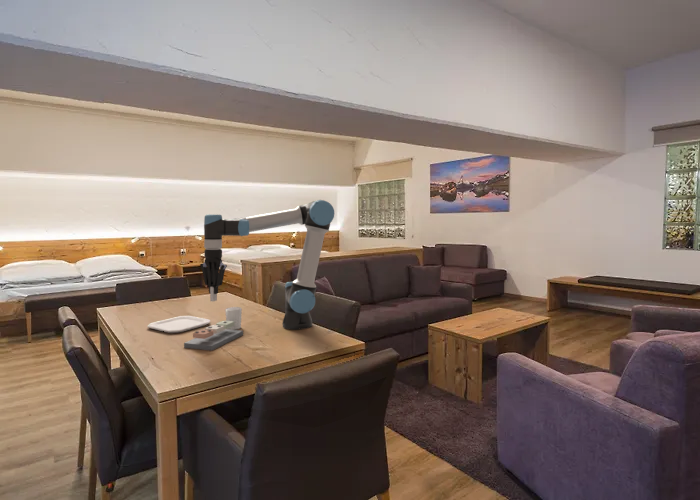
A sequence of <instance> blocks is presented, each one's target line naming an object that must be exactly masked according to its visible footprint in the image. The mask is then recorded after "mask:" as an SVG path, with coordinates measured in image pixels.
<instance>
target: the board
mask: <svg viewBox="0 0 700 500" xmlns="http://www.w3.org/2000/svg"><path fill="white" fill-rule="evenodd" d="M242 336H244V330H241V329H236V330H230V329H224V331H221V332H219V333H217V334H214V335H212V336H210V337H208V338H206V339H201V338H192V339H189V340H188V341H185V342H184V343H183V348H185V349H187V348H188V349H194V350H195V349H196V350H203V351H204V350H205V351H213V350H214V351H215V350H216V349H218V348H220V347H222V346H223V345H226V344H228V343H230V342H232V341H233V340H237V339H238V338H240V337H242Z"/></svg>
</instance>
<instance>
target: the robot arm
mask: <svg viewBox="0 0 700 500" xmlns="http://www.w3.org/2000/svg"><path fill="white" fill-rule="evenodd" d="M334 218H335V209H334V207H333V205H332V204H331V203H330V201H329V202H328V201H326V200H324V199H323V200H322V199H317V200H313V201H311V202H308V203H305V204H301V205H297V207H296V208H290V209H285V210H278V211H273V212H268V213H263V214H256V215H252V216H251V215H250V216H246V217H245V216H244V217H240V218H238V217H237V218H223V216H222V214H215V213H214V214H210V213H209V214H205V215H204V220H203V223H204V224H203V231H204V232H203V234H204V237H203V238H204V240H203V242H204V243H203V245H204V246H203V248H204V251H203V252H204V253H203V254H204V262H202V263H200V264H199V266H200V268H201V271H202V275H203V280H204V285H205V286H208V293H209V296H210V297H209V298H210V302H212V303H213V302H217V301H218V294H219V287H221V286H222V285H223V281H224V277H225V271H226V269H227V267H228V265H227V264H224V263H223V260H222V258H223V249H222V248H223V236H233V237H245V236H249V235H250V233H252V232H258V231H263V230H269V229H275V228H280V227H281V228H282V227H285V226H286V227H287V226H290V225H297V224H299V225H301V226H303V225H304V227H305V228H306V234H305V238H304V242H303V247H302V253H301V256H300V261H299V266H298V270H297V275H296V279H294V280H293V281H287V282H285V286H284V289H285V290H284V291H285V292H284V293H285V313H284V316H283V319H282V328H284V329H287V330H295V331H296V330H297V331H299V330H305V329H309V328H311V327H312V326H313V320H312V316H311V313H310V311H312V309H314V307H315V305H316V297H315V296H316V291H317V285H316V283H315V282H316V281H315V279H316V276H317V271H318V267H319V263H320V257H321V253H322V252H321V251H322V249H323V243H324V238H325V234H326V233H328V232H329V231H330V227H331V223H332V222H333V220H334Z"/></svg>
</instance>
